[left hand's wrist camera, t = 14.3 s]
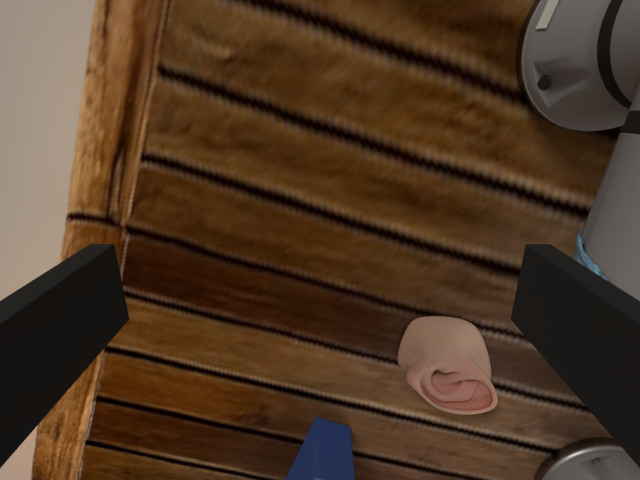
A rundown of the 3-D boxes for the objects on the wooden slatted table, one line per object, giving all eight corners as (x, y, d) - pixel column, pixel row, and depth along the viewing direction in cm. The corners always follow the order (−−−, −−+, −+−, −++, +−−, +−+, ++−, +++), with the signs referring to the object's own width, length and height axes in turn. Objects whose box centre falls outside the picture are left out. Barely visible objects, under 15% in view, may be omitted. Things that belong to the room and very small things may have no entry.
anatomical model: (397, 341, 42) (501, 323, 42) (391, 321, 46) (486, 304, 45) (412, 429, 47) (505, 414, 46) (405, 405, 51) (491, 390, 50)
